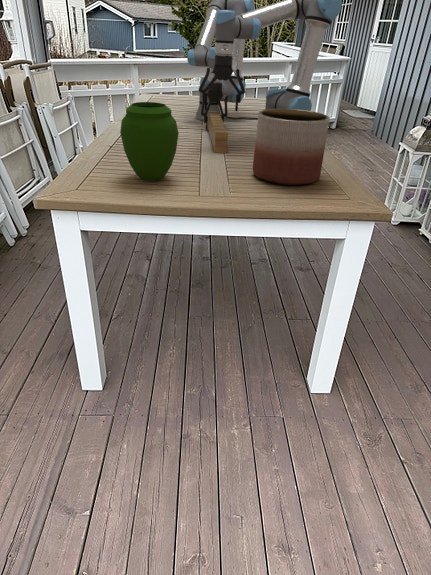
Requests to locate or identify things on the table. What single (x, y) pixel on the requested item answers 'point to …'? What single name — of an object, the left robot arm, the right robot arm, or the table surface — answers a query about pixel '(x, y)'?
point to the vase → (149, 139)
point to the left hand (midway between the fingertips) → (213, 129)
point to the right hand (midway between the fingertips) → (221, 110)
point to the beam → (217, 132)
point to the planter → (290, 146)
